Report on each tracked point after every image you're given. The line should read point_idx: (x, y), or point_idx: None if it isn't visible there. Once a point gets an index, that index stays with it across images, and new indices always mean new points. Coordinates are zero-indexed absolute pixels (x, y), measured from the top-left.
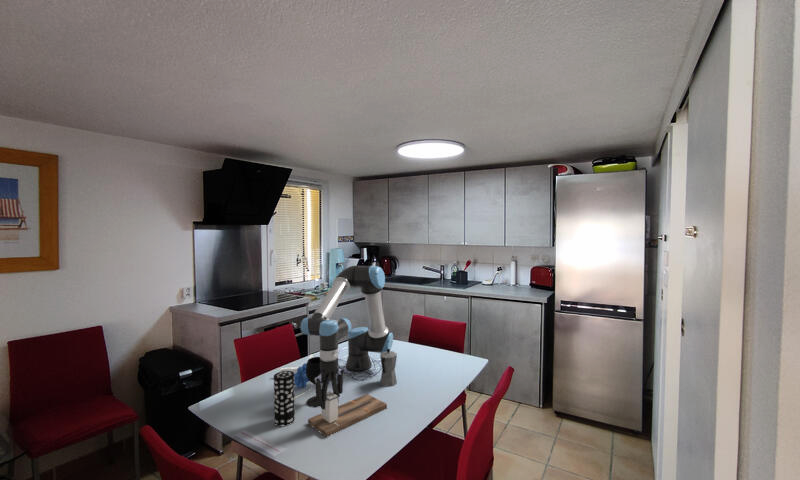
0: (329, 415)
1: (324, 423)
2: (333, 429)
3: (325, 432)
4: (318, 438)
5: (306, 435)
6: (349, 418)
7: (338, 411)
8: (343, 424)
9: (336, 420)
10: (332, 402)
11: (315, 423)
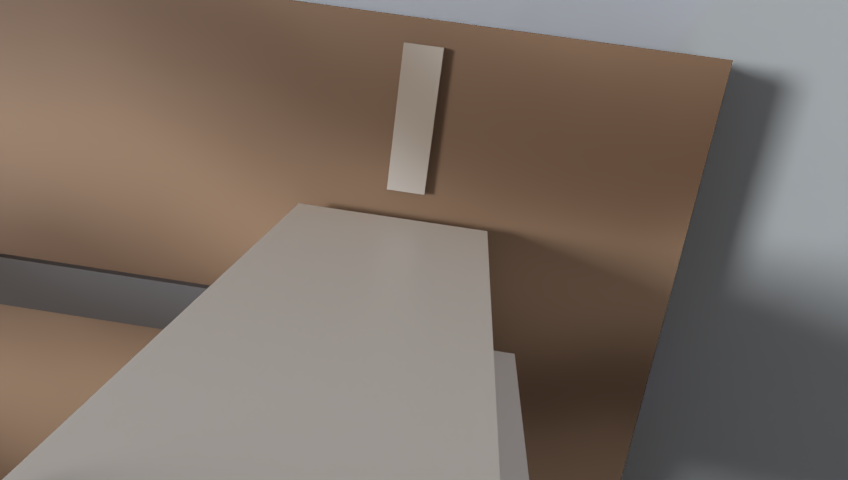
0: (488, 296)
1: (523, 323)
2: (563, 38)
3: (718, 94)
4: (788, 150)
5: (819, 362)
6: (107, 75)
7: None
8: (322, 6)
9: None
10: (345, 463)
11: (615, 439)
